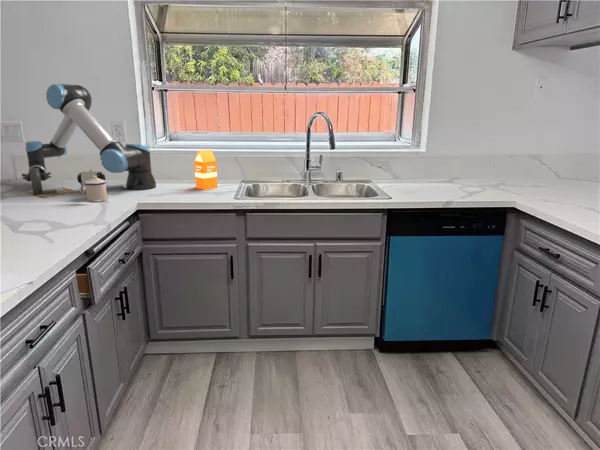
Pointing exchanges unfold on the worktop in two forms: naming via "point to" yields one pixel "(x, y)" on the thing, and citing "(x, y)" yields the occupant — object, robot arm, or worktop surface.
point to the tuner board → (45, 195)
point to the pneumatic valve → (89, 176)
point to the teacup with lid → (95, 189)
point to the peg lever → (37, 183)
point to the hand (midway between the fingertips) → (35, 181)
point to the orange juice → (205, 170)
